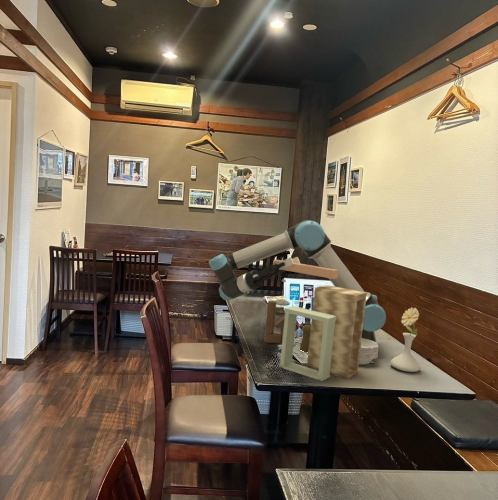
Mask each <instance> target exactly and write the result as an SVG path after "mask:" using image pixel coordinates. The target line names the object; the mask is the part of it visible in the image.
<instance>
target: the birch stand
mask: <svg viewBox="0 0 498 500" xmlns="http://www.w3.org/2000/svg"><path fill="white" fill-rule="evenodd" d="M365 292H366V291H364V292H360V291H355V290H350V289H344V288H339V287H335V286H334V285H321V286H316V287H314V295H313V304H312V311H316V312H321V313H325V314H329V315H334V316H337V317H336V321H335V329H334V338H333V347H332V356H331V366H330V376H331V375H332V376H334V377H338V378H342V379H344V380H348V379H349V378H352V377H353V376H354V375H356V374H357V373H358V372H359V366H360V364H359V357H360V348H361V339H362V331H363V322H364V313H365V305H366V296H367V293H365ZM310 320H311V323H310V325H311V330H310V340H309V349H308V353H307V360H306V361H307V362H306V367H308V368H311V369H314V370H317V371H319V363H320V354H321V344H322V335H323V326H324V322H322V321H318V320H314V319H310Z"/></svg>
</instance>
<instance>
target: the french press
mask: <svg viewBox="0 0 498 500" xmlns="http://www.w3.org/2000/svg"><path fill="white" fill-rule="evenodd" d="M281 282H283V284H282V287H284V283H286V282H287V280H286V279H284V278H283V279H282V280H281ZM283 293H284V290H282V294H281V297H283ZM274 301H276V306H280V307H282V306H283V307H284V306H290V305H291V303H290V302H289V301H288V300H286V299H283V298H281V299H279V298H278V299H275V300H274ZM284 315H285V309H282V308H279V309H278V308H276V311H275V322H274V324H275V323H276V322H277V321H278V320H280V319H281V318H282V317H283V316H284ZM273 333H277V334H281V327H274V332H273Z"/></svg>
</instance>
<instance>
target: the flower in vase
mask: <svg viewBox="0 0 498 500" xmlns="http://www.w3.org/2000/svg"><path fill="white" fill-rule="evenodd" d="M419 317H420V313H419V310H418V309H417V308H416V307H414V308H413V307H410V308H408V309H407V310H404V313H403V314H402V316H401V321H400V322H401V324H403V327H406V329H407V330H408V331H409V332H410V333H409V332H403V333H402V335H403V338H404V349H403V352H402V353H400V354H398V355H397V356H395V357H393V358H392V359H391V360H390V365H391V366H392V367H393V368H394V369H397V370H400V371H403V372H410V373H413V372H419V371H420V370H421V369H422V366H421V364H420V363H419V361H418V360H417V359H416V358H415V357H414V356H413V355H412V353H411V352H412V351H411V349H412V343H413V341H414V339H415V338H416V337H417V336H418V328H415V323H416V321H418V320H419ZM412 325H413V328H411V327H410V326H412Z"/></svg>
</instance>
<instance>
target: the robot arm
mask: <svg viewBox="0 0 498 500" xmlns="http://www.w3.org/2000/svg"><path fill="white" fill-rule="evenodd" d="M331 245H332V240H331V239H330V237H329V236H328V235H327V234H326V232H325V231H324V228H323V226H321V225H320V223H318V222H317V221H314V220H307V219H306V220H302V221H300V222H298V223H297V224H295V225H294V226H292V227H289V228H287V229H285V231H284V232H282V233H280V234H278V235H276V236H275V235H274V236H272V237H270V238H268V239H265V240H263V241H259V242H258V243H255V244H252V245H250V246H247V247H245V248H242V249H240V250H237V251H235V252H232V253H229V254H227V255H225V254H223V253H221V254H218V255H217V256H214V257H213V258H211V259H210V260H209V261H208V264H209V266H210V268H211V271H213V274H214V275H215V277H216V279H217V281H218V282H219V285H220V286H219V288H218V292H219V297H221V298H222V300H224V301H231V300H234V299H237V298H239V297H240V296H243V295H245V294H250V292H252V291H253V290H256V289H258V288H260V287H262V286H263V285H264V284H263V283H264V281H267V280H269V279H271V278H274V277H275V276H278V275H279V274H282V273H284V272H286V271H287V270H282V269H284V268H286V267H288V266H290V265H292V264H294V263H300V264H301V262H300V259H299V257H298V256H295V257H293V258H292V257H288V258H286V259H283V260H282V262H279V263H277V264H278V265H277V264H275V265H273V264H271V265H269V266H267V267H264V268H263V269H260V270H256V269H252V270H250V271H248V272H246V273H244V274H241V275H239V276H238V277H237V275H236V273H235V272H234V271H237V270H239V269H241V268H243V267H246V266H249V265H251V264H254V263H256V262H259V261H261V260H264V259H266V258H268V257H272V256H275V255H278V254H280V253H282V252H284V251H287V250H290V249H292V250H297V249H300V248H301V250H302V252H303V253H304V254H305V255H306V257H307V258H308V259H312V260H314V261H315V262H316V264H317V266H318V267H324V268H330V269H336V270H338V278H335V279H331V278H328V279H329V280H330V282H331V284H332V286H334V287H339V288H344V289H350V290H355V291H360V292H365V293H367V296H366V305H365V313H364V322H363V331H362V338H364V339H368V340H371V341H374V342H376V343H377V339H376V334H375V332H376V331H379V330H380V329H382V328H383V327H384V325H385V323H386V320H387V316H386V315H387V314H386V311H385V310H384V308H383V307H382V306H381V305H379V303H378V296H377V295H375V294H371V292H367V291H364V289H363V288H362V287H361V285H360V284H359V282H358V281H357V280H356V278H355V277H354V276H353V275H352V273H351V272H350V270H349V269H348V268H347V266H346V265H345V264H344V262H343V261H342V260H341V258H340V257H339V256H338V255H337V253H336V252H335V250H334V249H333V248H332V247H331ZM293 262H294V263H293Z"/></svg>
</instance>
